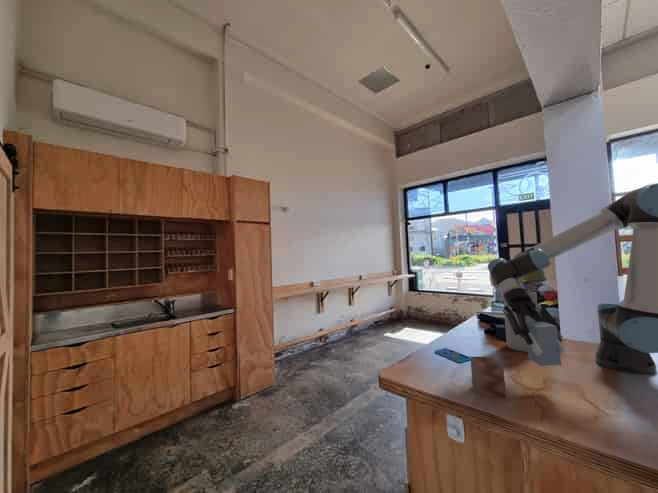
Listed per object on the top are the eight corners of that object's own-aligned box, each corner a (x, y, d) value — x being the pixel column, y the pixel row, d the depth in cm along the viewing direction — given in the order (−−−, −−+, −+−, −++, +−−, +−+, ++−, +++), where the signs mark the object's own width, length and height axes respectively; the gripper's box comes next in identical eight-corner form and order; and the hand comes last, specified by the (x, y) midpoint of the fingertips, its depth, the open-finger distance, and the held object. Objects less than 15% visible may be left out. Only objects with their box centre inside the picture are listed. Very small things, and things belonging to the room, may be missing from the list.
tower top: (493, 371, 90) (492, 356, 90) (504, 381, 83) (503, 365, 83) (471, 371, 91) (470, 356, 91) (480, 381, 84) (479, 365, 84)
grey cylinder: (500, 343, 129) (497, 291, 130) (527, 342, 128) (523, 290, 129) (518, 353, 116) (514, 295, 117) (548, 352, 116) (543, 293, 117)
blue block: (547, 357, 90) (543, 321, 90) (561, 365, 84) (556, 326, 84) (528, 358, 90) (524, 322, 91) (540, 365, 84) (536, 327, 85)
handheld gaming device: (446, 347, 126) (474, 357, 112) (446, 349, 126) (474, 360, 112) (432, 350, 123) (459, 361, 109) (432, 352, 123) (459, 364, 109)
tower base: (494, 386, 90) (493, 371, 90) (506, 398, 83) (505, 381, 83) (472, 387, 91) (471, 371, 91) (482, 398, 84) (481, 381, 84)
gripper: (537, 297, 102) (578, 357, 85) (484, 300, 104) (514, 360, 87) (545, 285, 97) (590, 345, 80) (490, 288, 99) (523, 349, 82)
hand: (551, 353), depth 84 cm, fingers closed on blue block, 6 cm apart
